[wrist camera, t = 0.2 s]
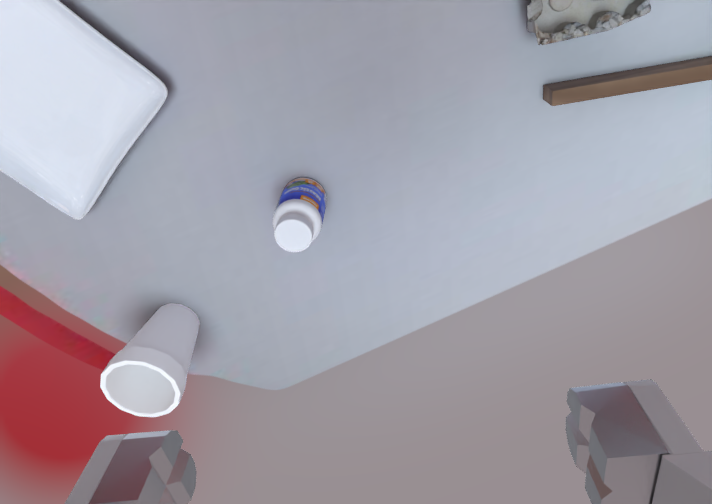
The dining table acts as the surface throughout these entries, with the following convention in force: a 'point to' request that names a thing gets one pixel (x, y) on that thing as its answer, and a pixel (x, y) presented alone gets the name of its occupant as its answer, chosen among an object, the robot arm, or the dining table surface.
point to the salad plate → (67, 103)
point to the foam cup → (153, 364)
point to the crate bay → (628, 81)
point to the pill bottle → (299, 214)
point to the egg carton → (580, 17)
